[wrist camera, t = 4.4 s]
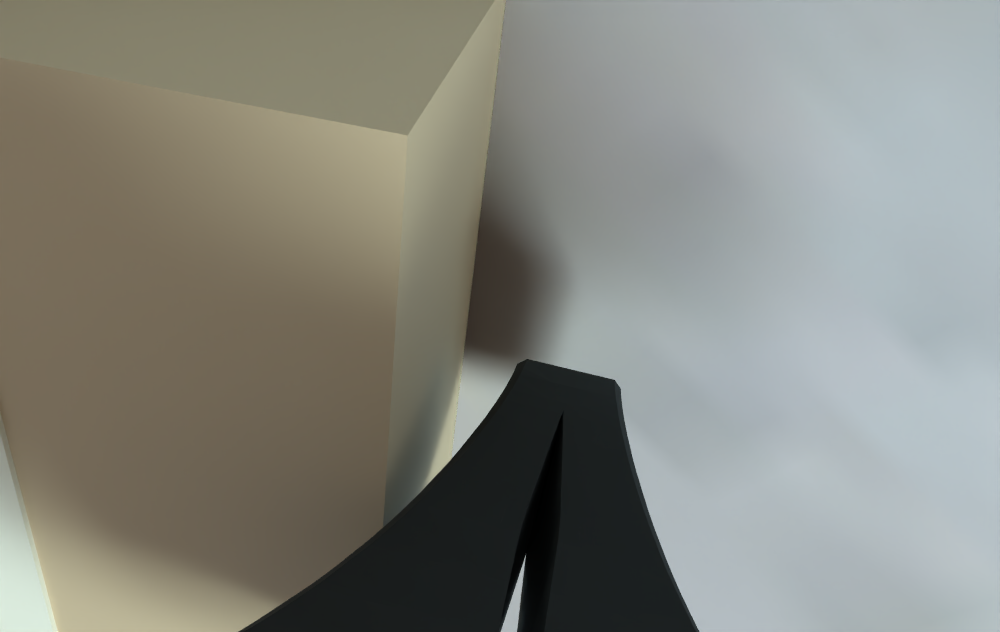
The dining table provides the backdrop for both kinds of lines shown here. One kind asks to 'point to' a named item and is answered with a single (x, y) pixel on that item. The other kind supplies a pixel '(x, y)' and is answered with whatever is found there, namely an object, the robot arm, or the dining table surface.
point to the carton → (227, 293)
